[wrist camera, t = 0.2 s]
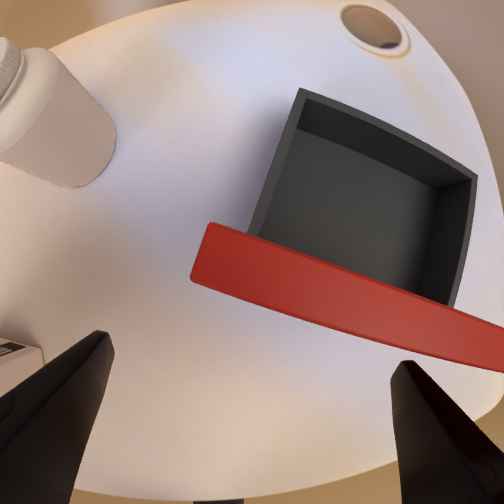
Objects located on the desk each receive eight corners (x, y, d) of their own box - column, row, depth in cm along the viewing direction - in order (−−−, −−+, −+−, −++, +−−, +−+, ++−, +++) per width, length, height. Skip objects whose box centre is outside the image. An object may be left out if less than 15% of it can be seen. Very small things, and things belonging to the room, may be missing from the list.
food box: (289, 122, 24) (299, 86, 18) (441, 189, 24) (478, 175, 18) (239, 263, 23) (236, 262, 17) (408, 320, 23) (445, 332, 17)
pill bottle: (101, 197, 23) (-26, 138, 8) (39, 182, 23) (-74, 136, 8) (132, 115, 23) (50, 6, 8) (68, 109, 23) (-20, 31, 8)
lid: (208, 219, 4) (187, 281, 4) (605, 369, 4) (599, 388, 4) (238, 256, 17) (233, 269, 17) (451, 328, 17) (447, 339, 17)
